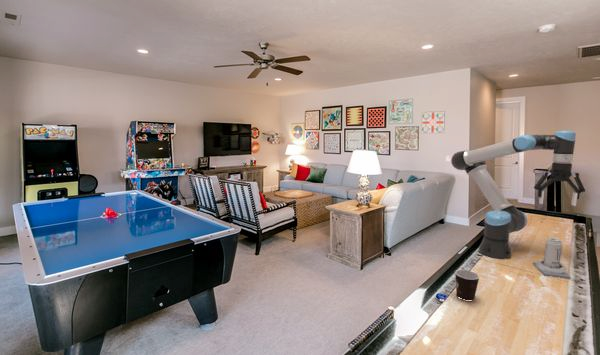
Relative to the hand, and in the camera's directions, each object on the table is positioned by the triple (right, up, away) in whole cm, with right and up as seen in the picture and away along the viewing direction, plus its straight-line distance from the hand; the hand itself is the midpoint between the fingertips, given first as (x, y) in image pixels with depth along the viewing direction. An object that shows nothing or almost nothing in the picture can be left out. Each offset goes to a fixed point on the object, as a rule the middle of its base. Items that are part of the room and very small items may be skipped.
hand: (556, 204), depth 155 cm
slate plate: (-8, -32, -5) cm, 33 cm away
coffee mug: (-62, -36, -30) cm, 78 cm away
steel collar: (-8, -32, -5) cm, 33 cm away
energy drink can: (-8, -31, -5) cm, 32 cm away
